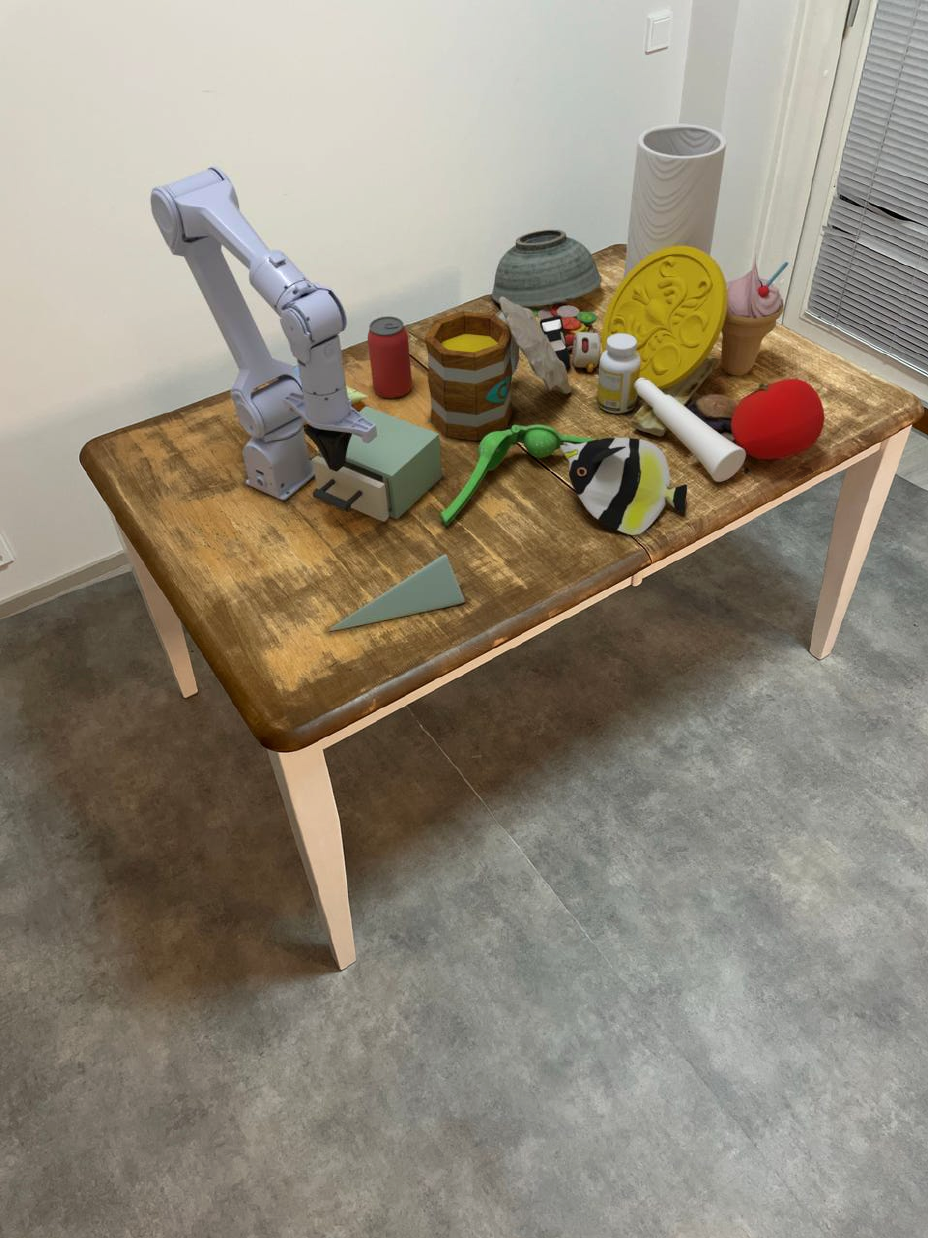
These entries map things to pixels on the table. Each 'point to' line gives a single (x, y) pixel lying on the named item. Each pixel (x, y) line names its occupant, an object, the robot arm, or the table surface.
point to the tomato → (778, 419)
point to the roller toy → (586, 350)
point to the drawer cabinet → (398, 458)
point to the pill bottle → (618, 374)
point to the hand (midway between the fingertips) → (337, 466)
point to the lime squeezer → (494, 449)
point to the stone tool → (535, 345)
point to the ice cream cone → (748, 319)
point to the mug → (471, 374)
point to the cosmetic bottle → (694, 433)
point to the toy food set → (568, 319)
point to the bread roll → (715, 412)
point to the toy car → (556, 338)
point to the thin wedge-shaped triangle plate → (411, 596)
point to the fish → (622, 481)
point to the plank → (680, 392)
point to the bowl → (545, 270)
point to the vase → (674, 190)
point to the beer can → (389, 357)
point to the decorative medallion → (670, 312)
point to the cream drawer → (352, 489)
